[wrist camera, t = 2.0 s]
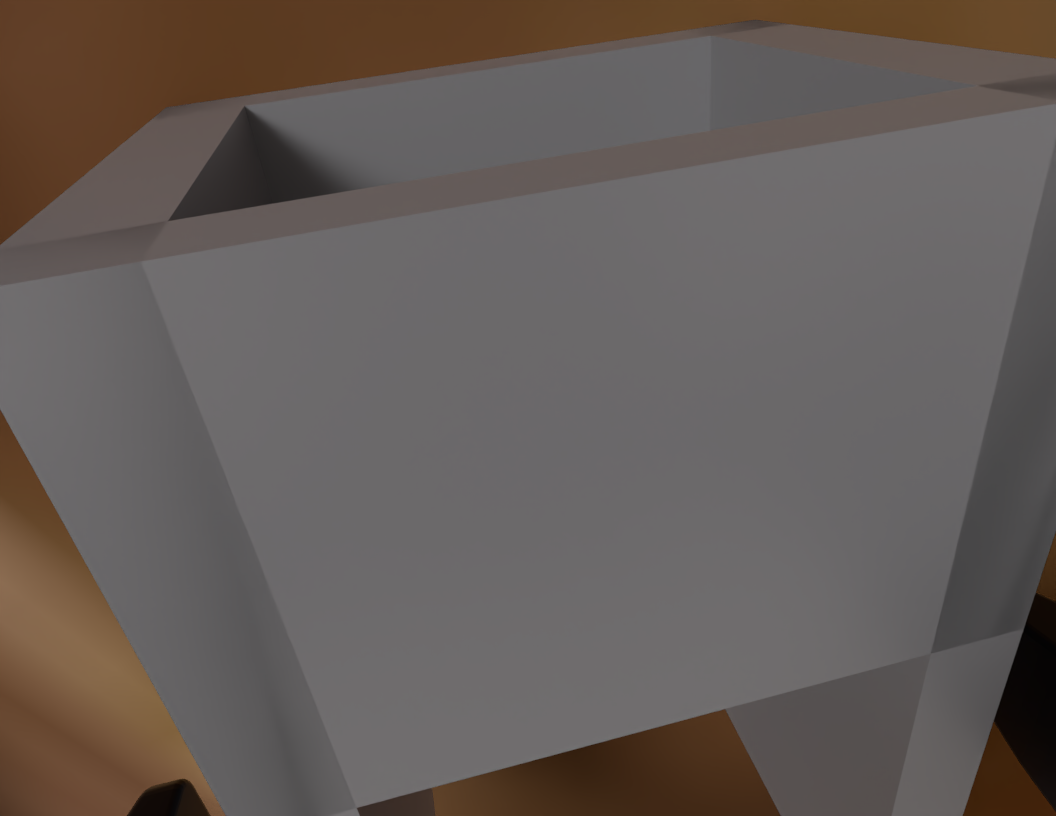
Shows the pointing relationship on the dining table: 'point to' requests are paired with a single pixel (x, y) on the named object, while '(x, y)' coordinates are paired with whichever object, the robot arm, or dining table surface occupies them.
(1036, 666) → the robot arm
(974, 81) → the chute
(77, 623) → the dining table surface
